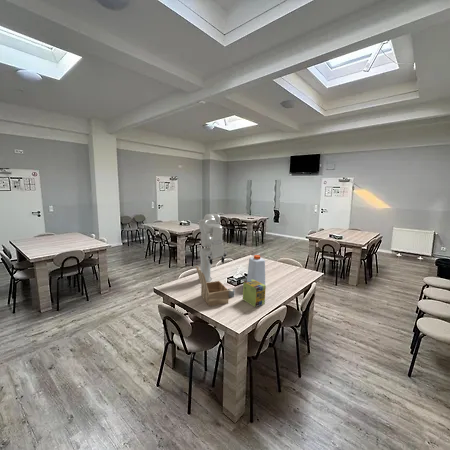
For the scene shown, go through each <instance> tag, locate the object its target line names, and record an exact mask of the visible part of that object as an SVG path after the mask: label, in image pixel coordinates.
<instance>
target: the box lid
mask: <svg viewBox="0 0 450 450" xmlns="http://www.w3.org/2000/svg"><path fill="white" fill-rule="evenodd" d="M195 268H196V271H197V276H198V280H199V279H200V281H199V282H200V286H201V285H202V286H203V287H204V289H205V290H206V291H207V292H208V294H209V290H208V287H207V283H208V282H206V279H205V276H204V274H203V273H202V272H201V268H199V267H198V266H195Z"/></svg>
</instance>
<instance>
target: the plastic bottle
mask: <svg viewBox="0 0 450 450" xmlns="http://www.w3.org/2000/svg"><path fill="white" fill-rule="evenodd" d="M252 279H253V280H255V281H258V282H260V283H262V284H264V285H266V261H265V259H264V258H263V257H261V255H259V254H256V255H255V254H254V255H253V257H249V259H248V265H247V277H246V281H249V280H252Z"/></svg>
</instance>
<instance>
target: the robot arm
mask: <svg viewBox="0 0 450 450" xmlns="http://www.w3.org/2000/svg"><path fill="white" fill-rule="evenodd" d="M220 222H221V217H220V215H219V214H218V213H207V214H205V215H204V217H203V219H199V221H198V227H199V231H200V244H201V246H202V247H204V248H201V249H200V250H199V257H200V270H201V272H202V273H203V274H204V276H205V279H206V283H208V282H212V280H213V278H212V277H211V265H212V266H213V259H215V258H218V257H220V258H221V261H220V262H221V263H222V264H224V262H225V258H226V256H227V255H228V251H227V250H225V248H224V244H223V242H224V239H223V226H222V225H221V224H220ZM198 280H199V282H200V279H199V278H198Z"/></svg>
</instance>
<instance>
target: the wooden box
mask: <svg viewBox="0 0 450 450" xmlns="http://www.w3.org/2000/svg"><path fill="white" fill-rule="evenodd" d="M206 283H207V287H208V290H209V294H208V292H207V291H206V290H205V289H204V287H203V286H202V285H201V284H200V286H201V287H200V288H201V289H200V294H201V297H202V298H203V301H204V302H206V304H207V306H208V307H214V306H220V305H226V304H229V297H228V296H229V290H228V289H229V288H227V287H226V286H225V285H224V284H223V283H222V282H221V281H220V280H217V281H216V280H215V281H209V282H206Z"/></svg>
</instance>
